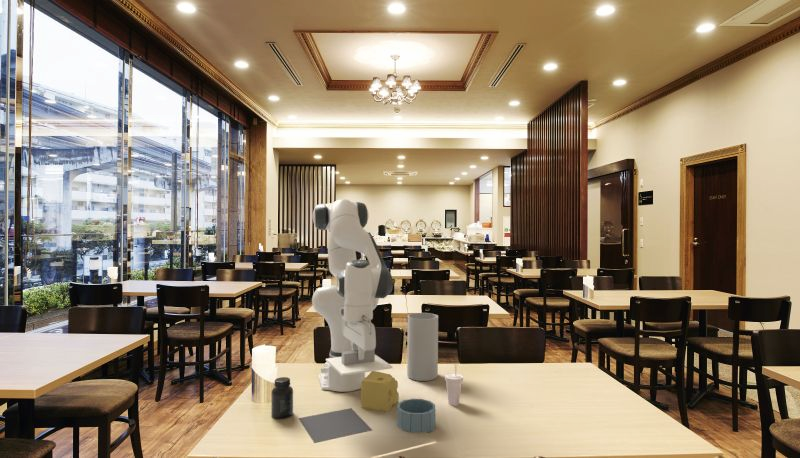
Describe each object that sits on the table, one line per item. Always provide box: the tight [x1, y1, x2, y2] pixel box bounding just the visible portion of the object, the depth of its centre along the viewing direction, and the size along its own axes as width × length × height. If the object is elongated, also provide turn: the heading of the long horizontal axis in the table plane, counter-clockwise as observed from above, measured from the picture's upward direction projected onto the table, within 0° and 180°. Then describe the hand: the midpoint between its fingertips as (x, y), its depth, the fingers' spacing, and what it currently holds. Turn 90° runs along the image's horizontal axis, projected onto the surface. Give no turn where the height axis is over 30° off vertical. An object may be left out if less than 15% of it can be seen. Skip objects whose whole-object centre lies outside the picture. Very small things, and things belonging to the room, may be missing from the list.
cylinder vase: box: [406, 312, 439, 382], centre depth 186 cm, size 12×12×25 cm
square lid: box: [325, 349, 393, 376], centre depth 140 cm, size 16×16×4 cm
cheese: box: [360, 370, 400, 412], centre depth 156 cm, size 10×11×10 cm
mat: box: [298, 407, 373, 444], centre depth 141 cm, size 18×18×1 cm
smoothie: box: [444, 363, 464, 407], centre depth 158 cm, size 6×6×14 cm
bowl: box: [396, 398, 436, 434], centre depth 141 cm, size 12×12×6 cm
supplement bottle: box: [270, 376, 294, 420], centre depth 147 cm, size 7×7×12 cm
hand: (358, 357), depth 140 cm, fingers closed on square lid, 2 cm apart
